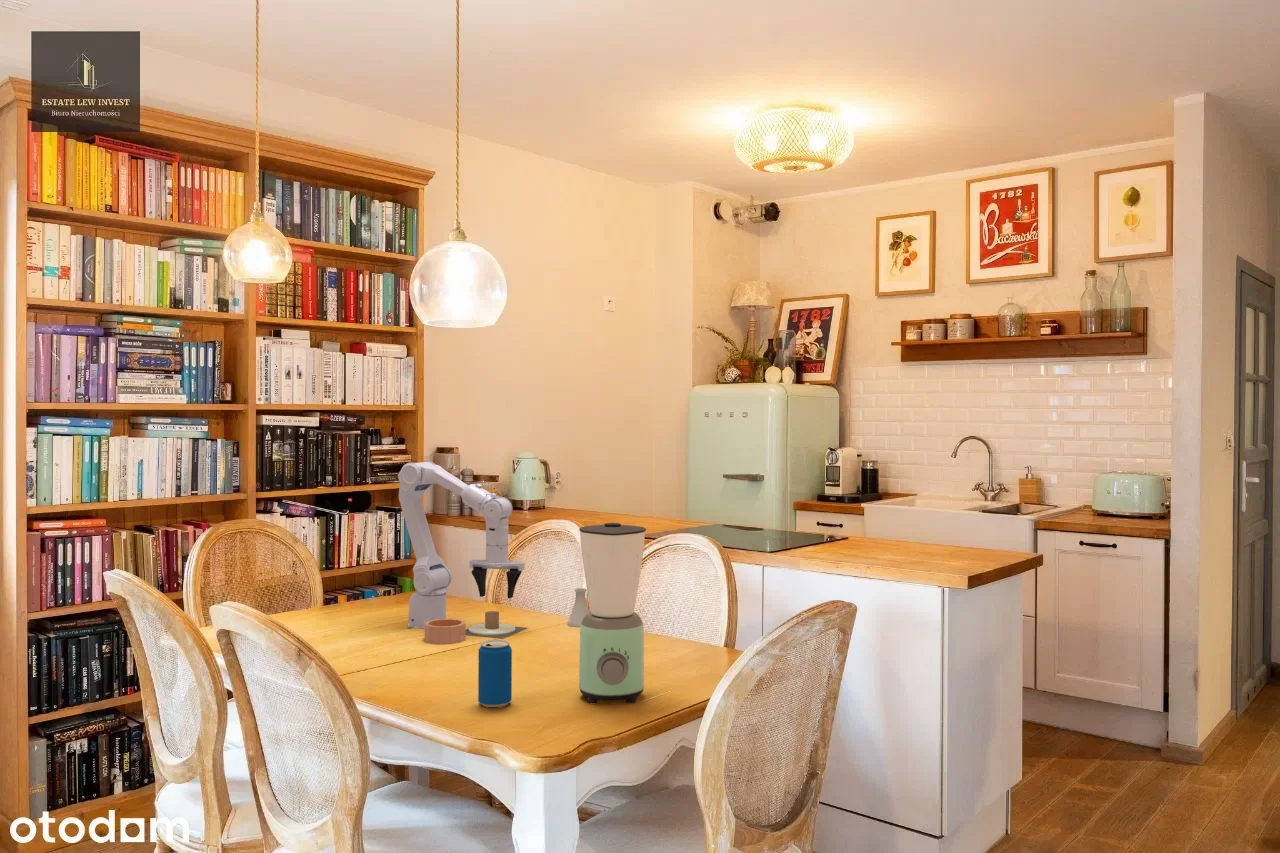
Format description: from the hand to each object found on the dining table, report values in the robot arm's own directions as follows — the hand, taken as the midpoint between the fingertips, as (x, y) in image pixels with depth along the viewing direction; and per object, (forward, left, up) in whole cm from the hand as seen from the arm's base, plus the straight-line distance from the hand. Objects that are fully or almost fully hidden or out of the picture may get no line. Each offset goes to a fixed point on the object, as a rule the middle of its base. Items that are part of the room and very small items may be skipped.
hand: (496, 596), depth 258 cm
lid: (-1, 0, -9) cm, 9 cm away
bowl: (-7, -13, -9) cm, 18 cm away
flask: (+17, +16, -10) cm, 25 cm away
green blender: (+50, -42, -10) cm, 66 cm away
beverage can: (+31, -56, -10) cm, 65 cm away
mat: (-1, 0, -9) cm, 9 cm away
